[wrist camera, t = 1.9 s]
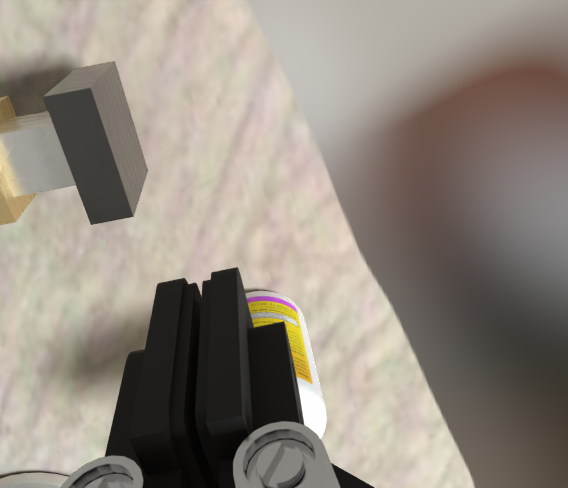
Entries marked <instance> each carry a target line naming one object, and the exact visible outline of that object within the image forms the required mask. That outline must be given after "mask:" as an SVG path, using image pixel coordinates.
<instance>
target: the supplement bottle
mask: <svg viewBox="0 0 568 488" xmlns="http://www.w3.org/2000/svg"><path fill="white" fill-rule="evenodd" d="M245 294H246V298H247V302H248V306H249V310H250V313H251V317H252V321H253V325H254V327H258V326H263V325H268V324H273V323H277V322H282V321H284V322H285V325H286V329H287V334H288V338H289V343H290V347H291V352H292V356H293V361H294V366H295V371H296V377H297V382H298V388H299V394H300V400H301V406H302V412H303V418H304V424H305V426H307V427H309V428H310V429H311V430H313V431H314V432H315V433H316V434H317V435H318V436H319V438H320V439H321V437H322V435H323V433H324V430H325V426H326V420H327V418H326V408H325V404H324V399H323V395H322V391H321V387H320V383H319V379H318V374H317V370H316V366H315V361H314V357H313V353H312V349H311V344H310V340H309V336H308V332H307V328H306V324H305V320H304V317H303V314H302V312H301V310H300V309H299V308H298V306H297V305H296V304H295V303H294V302H293V301H292V300H290V299H289V298H287V297H285V296H283V295H281V294H278V293H275V292H270V291H254V292H249V293H245Z"/></svg>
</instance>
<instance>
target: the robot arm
mask: <svg viewBox="0 0 568 488" xmlns="http://www.w3.org/2000/svg"><path fill="white" fill-rule="evenodd" d="M0 488H374V487H373V486H371V485H369V484H367V483H365V482H364V481H362V480H360V479H358V478H357V477H355V476H353V475H351V474H350V473H348V472H346V471H344V470H342V469H341V468H339V467H337V466H335V465H334V464H332V463H331V462H330V460H329V457H328V455H327V452H326V449H325V447H324V444H323V443H322V441H321V439H320V438H319V436H318V435H317V434H316V433H315V432H314V431H313V430H311V429H310V428H309V427H307V426H305V424H304V418H303V412H302V406H301V400H300V394H299V388H298V382H297V377H296V371H295V366H294V361H293V356H292V352H291V347H290V343H289V338H288V334H287V329H286V325H285V322H284V321H282V322H277V323H273V324H268V325H263V326H258V327H254V325H253V321H252V317H251V313H250V310H249V306H248V302H247V298H246V294H245V291H244V287H243V283H242V279H241V276H240V272H239V269H238V268H237V267H236V268H231V269H226V270H221V271H217V272H212V273H211V280H207V281H203V284H202V298H201V295H200V291H199V288H198V286H197V284H196V283H192V284H188V283H187V281H186V279H185V278H182V279H177V280H172V281H167V282H162V283H159V284H158V285H157V289H156V294H155V299H154V305H153V310H152V315H151V321H150V326H149V331H148V337H147V342H146V347H145V349H144V350H139V351H134V352H131V353H130V354H129V355H128V358H127V360H126V365H125V369H124V374H123V378H122V383H121V387H120V391H119V396H118V400H117V405H116V409H115V414H114V418H113V422H112V427H111V431H110V436H109V440H108V445H107V449H106V453H105V457H103V458H98V459H96V460H94V461H92V462H89V463H87V464H85V465H84V466H82V467H81V468H79V469H78V470H77V471H75V472H74V473H72V474H71V475H70V477H68V476H63V475H58V474H51V473H22V474H16V475H10V476H7V477H4V478H1V479H0Z"/></svg>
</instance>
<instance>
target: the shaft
mask: <svg viewBox="0 0 568 488" xmlns="http://www.w3.org/2000/svg"><path fill="white" fill-rule="evenodd" d="M43 99H44V102H45V104H46V107H47V110H48V111H45V112H40V113H35V114H29V115H24V116H19V117H17V116H16V113H15V111H14V108H13V106H12V104H11V101H10V99H9V96H5V97H0V225H3V224H8V223H13V222H16V221H17V219H18V218H19V217H20V215H21V214H22V213H23V211H24V210H25V208H26V207H27V206H28V204H29V203H30V202H31V200H32V199H33V198H34V196H35V195H36V194H37V193H38V192H43V191H48V190H53V189H59V188H64V187H69V186H74V185H76V186H77V189H78V192H79V194H80V197H81V199H82V202H83V205H84V207H85V210H86V213H87V215H88V218H89V221H90V223H91V225H93V224H98V223H103V222H108V221H113V220H119V219H124V218H129V217H134V214H135V210H136V207H137V204H138V201H139V197H140V194H141V191H142V188H143V185H144V181H145V178H146V175H147V172H148V169H147V166H146V163H145V159H144V156H143V153H142V150H141V146H140V143H139V140H138V136H137V133H136V130H135V126H134V123H133V120H132V117H131V113H130V110H129V107H128V103H127V100H126V97H125V93H124V90H123V87H122V84H121V80H120V77H119V74H118V70H117V67H116V64H115V61H114V62H108V63H103V64H98V65H92V66H87V67H82V68H76V69H75V70H74V71H72V72H71V73H70V74H69V75H68V76H67V77H65V78H64V79H63V80H62V81H61V82H60V83H58V84H57V85H56V86H55V87H54V88H52V89H51V90H50V91H49V92H48V93H47V94H45V95H44V96H43Z"/></svg>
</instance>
